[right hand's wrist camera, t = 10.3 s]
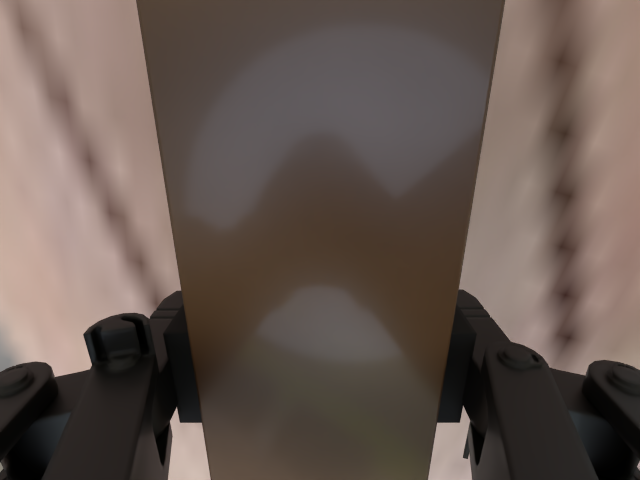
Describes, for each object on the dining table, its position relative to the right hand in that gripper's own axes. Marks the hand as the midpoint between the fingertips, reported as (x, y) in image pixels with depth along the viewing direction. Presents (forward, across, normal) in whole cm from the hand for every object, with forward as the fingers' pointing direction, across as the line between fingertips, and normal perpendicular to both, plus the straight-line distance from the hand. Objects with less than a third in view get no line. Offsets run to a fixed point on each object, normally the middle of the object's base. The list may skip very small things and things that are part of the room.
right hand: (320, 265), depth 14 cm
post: (+1, 0, -19) cm, 19 cm away
